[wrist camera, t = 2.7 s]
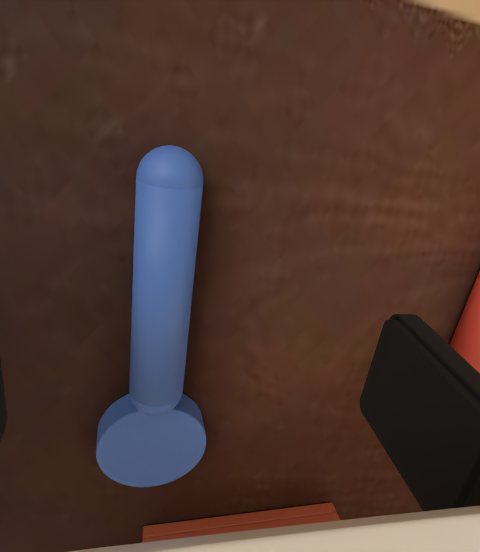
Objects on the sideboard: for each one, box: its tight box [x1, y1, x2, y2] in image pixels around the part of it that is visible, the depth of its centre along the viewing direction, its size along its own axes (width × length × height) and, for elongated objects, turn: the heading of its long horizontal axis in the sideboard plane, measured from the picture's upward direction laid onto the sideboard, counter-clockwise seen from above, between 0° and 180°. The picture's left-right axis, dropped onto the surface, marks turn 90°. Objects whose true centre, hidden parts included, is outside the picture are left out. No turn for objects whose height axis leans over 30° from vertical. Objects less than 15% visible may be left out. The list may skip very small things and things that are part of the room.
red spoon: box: [450, 271, 480, 373], centre depth 19 cm, size 14×4×2 cm, turn 172°
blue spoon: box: [96, 145, 206, 487], centre depth 16 cm, size 14×4×2 cm, turn 172°
